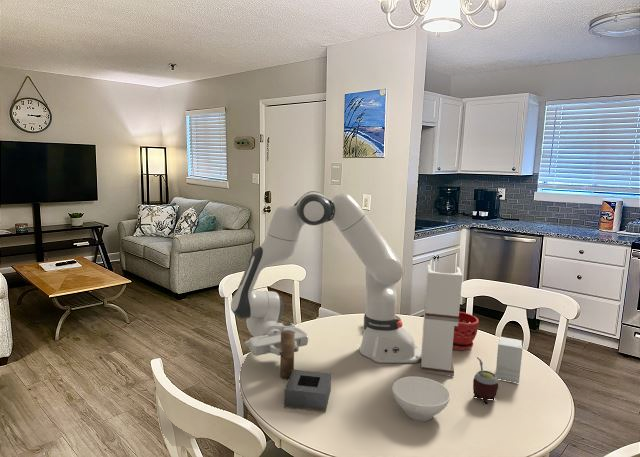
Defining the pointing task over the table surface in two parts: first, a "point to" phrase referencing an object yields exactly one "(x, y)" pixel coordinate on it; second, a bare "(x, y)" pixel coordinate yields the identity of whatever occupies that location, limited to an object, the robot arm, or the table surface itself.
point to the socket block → (307, 391)
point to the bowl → (420, 397)
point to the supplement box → (509, 359)
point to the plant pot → (465, 331)
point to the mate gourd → (485, 384)
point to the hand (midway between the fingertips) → (288, 351)
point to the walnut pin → (287, 354)
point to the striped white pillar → (440, 321)
